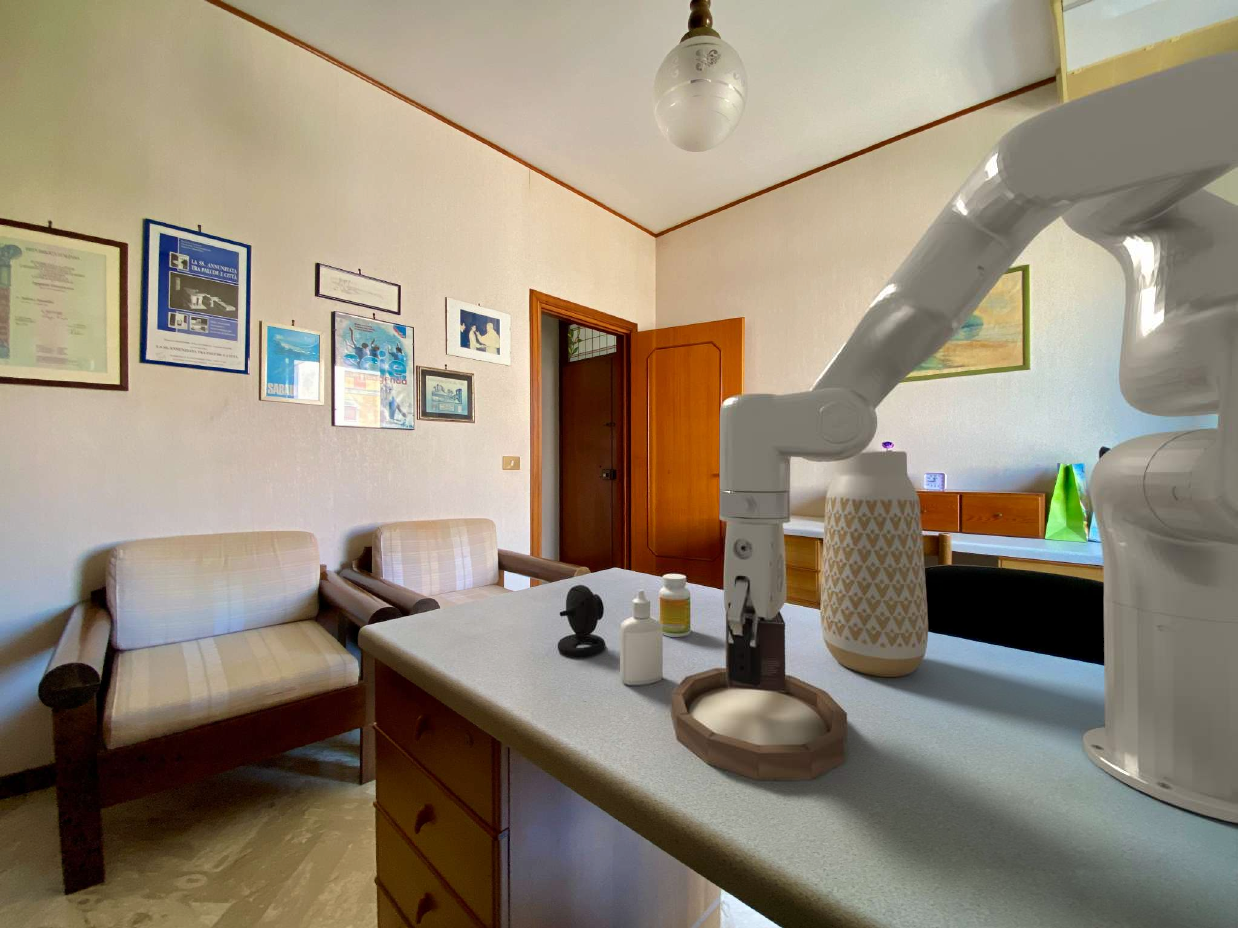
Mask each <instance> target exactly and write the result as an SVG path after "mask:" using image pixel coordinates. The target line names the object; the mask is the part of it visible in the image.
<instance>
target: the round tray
mask: <svg viewBox="0 0 1238 928" xmlns="http://www.w3.org/2000/svg"><path fill="white" fill-rule="evenodd" d="M785 689H786V691H785V692H772V691H763V690H751V689H739V688H730V687H728V686H727V678H726V667H714V668H712V669H708V670H705V671H701V672H697V673H695V674H691V675H688V676H686V677H684V678H683V679H682V680H681V682H679V683H678V685H677V686H676V687H675V688H674V689H673V690H672V691H671V693H670V716H671V717H670V718H671V721H672V724H673V729H674V733H675V738H676V740H677V741H679V742H680V743H681V744H682V745H683V746H685V747H686V748H687V749H688V750H690V751H691V752H692V753H693V754H695V755H696V756H697V757H698V758H700V760H702V761H704V762H705V763H706V764H707V765H709V766H711V767H716V768H719V769H723V770H724V771H729V772H731V773H735V774H738V775H741V776H744V777H747V778H749V779H754V780H756V781H813V780H814V779H816V778H818V777H820V776H822V775H824V774H826V773H827V772H829V771H831V770H832V769H835V768H836V767H838V766H841V765H842V764H844V763H845V760H846V759H845V757H846V749H847V742H848V713H847V712H846V711H845V710H844V709H843V707H841V705H839V703H838V702H837V701H836V700H835V699H834V698H833V697H832V696H831V695H830V694H829V693H828V692H827V691H826V690H823V689H822V688H819V687H817V686H814V685H813V684H811V683H808V682H806V681H804V680H803V679H802V680H801V679H800V678H797V677H796V676H794V675H793V676H792V675H789V674H785Z"/></svg>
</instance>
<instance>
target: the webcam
mask: <svg viewBox="0 0 1238 928" xmlns="http://www.w3.org/2000/svg"><path fill="white" fill-rule="evenodd" d="M568 590H569V591H568V592H567V594H566V600H565V610H562V611H560V612H559V615H560V617H567V620H568V624H569V626H570V628H571V629H572V631H573V632H574V634H570V635H567V636H564V637H562V638H561V639H560V640H559V641H558V643H557V650H558V652H559V653H560V654H562V655H564V656H566V657H569V658H578V659H581V658H582V659H584V658H591V657H594V656H597V655H599V654H601V653H603V652H604V650H605V647H606V642H605V640H604V638H602V637H601V636H599V635H597V634H592V633H593V632H594V631H595V630H596V628H597V625H598V621H600V620H602V619H603V616H604V611H605V609H604V608H605V606H604V603H603V599H602V598H601V596H600V595H599V594H597V593H595V594H594V593H593V591H592V590H591V589H590V588H589V587H588V586H586V585H583V584H578V585H574V586H572V587H571V588H570V589H568ZM587 643H588V644H592V645H589V646H584V647H578V646H580V645H582V644H587Z"/></svg>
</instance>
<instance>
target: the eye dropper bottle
mask: <svg viewBox="0 0 1238 928" xmlns="http://www.w3.org/2000/svg"><path fill="white" fill-rule="evenodd" d="M631 603H632V604H631V610H632V611H631V613H632V616H631V617H630V616H629V618H627V619H624V620H623V621H622V622H621V624H620V629H619V631H620V632H619V633H620V634H619V643H620V644H619V669H620V670H619V671H620V672H619V675H620V676H619V677H620V679H621V681H622V682H623V683H624V684H625V685H627V686H644V685H651V684H654V683H657V682H660V681H661V680H662V679H663V675H664V673H663V671H664V669H663V668H664V667H663V666H664V663H663V661H664V659H663V657H664V656H663V654H664V653H663V651H664V650H663V634H662V624H661V622H660V621H659V618H656V617H653V616H651V600H650V599H648V598H647V597H646V595H645V591H644V589H638V591H637V597H636V598H634V599H632V600H631Z"/></svg>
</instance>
